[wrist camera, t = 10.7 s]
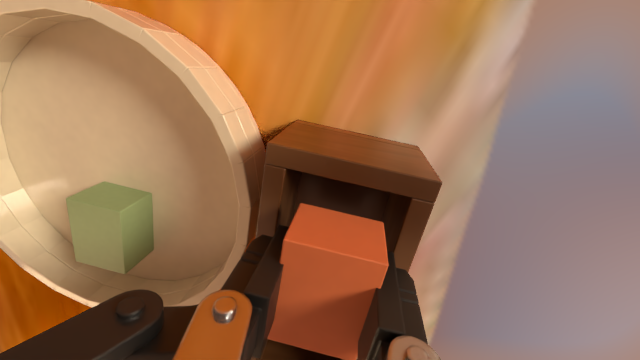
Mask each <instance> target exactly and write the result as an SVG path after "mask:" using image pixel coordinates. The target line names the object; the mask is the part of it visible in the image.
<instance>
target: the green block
mask: <svg viewBox="0 0 640 360" xmlns="http://www.w3.org/2000/svg"><path fill="white" fill-rule="evenodd" d="M66 204H67V210H68V216H69V223H70V229H71V235H72V241H73V248H74V254H75V260H76V261H77V262H80V263H84V264H88V265H92V266H95V267H99V268H103V269H107V270H110V271H114V272H118V273H122V274H126V273H128V272H129V271H130V270H131V269H132V268H133V267H135V266H136V265H137V264H138V263H139V262H140V261H141V260H143V259H144V258H145V257H146V256H147V255H148V254H150V253H151V252H152V251H153V250H154V235H153V204H152V193H150V192H146V191H142V190H138V189H134V188H130V187H125V186H121V185H117V184H113V183H109V182H105V181H104V182H101V183H99V184H97V185H94V186H92V187H90V188H88V189H85V190H83V191H81V192H79V193H76V194H74V195H72V196H69V197H67V198H66Z"/></svg>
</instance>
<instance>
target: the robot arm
mask: <svg viewBox="0 0 640 360" xmlns="http://www.w3.org/2000/svg"><path fill="white" fill-rule="evenodd" d="M288 228H289V227H288V226H284V225H279V226H278V228H277V230H276V232H275V234H274V236H273V237H271V236H267V235H263V234H262V235H260V236H259V237H257V238H256V239H254V240H252V241H251V243H250V244H249V246H248V248H247V249H246V252H244V254H243V255H242V257H241V259H240V260H239V262H238V263H237V265H236V266H235V268H234V269H233V271H232V272H231V274H230V276H229V277H228V279H227V280H226V282H225V283H224V285H223V287H222V288H221V290H219V291H216V292H213V293H211V294H209V295H207V296H206V297H205V298H203V299H202V300H201V302H200V303H199V304H197V305H192V306H166V307H163V300H162V298H161V297H160V296H159V295H158V294H157V293H155V292H153V291H150V290H143V289H138V290H131V291H127V292H124V293H121V294H118V295H116V296H114V297H112V298H110V299H108V300H106V301H104V302H102V303H100V304H98V305H96V306H94V307H92V308H90V309H88V310H86V311H84V312H82V313H80V314H78V315H76V316H74V317H72V318H70V319H68V320H66V321H64V322H62V323H60V324H58V325H56V326H54V327H52V328H50V329H48V330H46V331H44V332H42V333H40V334H38V335H36V336H34V337H32V338H30V339H28V340H26V341H24V342H22V343H20V344H18V345H16V346H14V347H12V348H10V349H8V350H6V351H4V352H2V353H0V360H251V357H254V358H258V359H260V358H261V355H262V352H263V350H264V347H265V344H266V341H267V338H268V336H269V333H270V330H271V327H272V324H273V321H274V318H275V312H276V306H277V300H278V295H279V289H280V283H281V277H282V272H283V266H284V265H283V264H280V256H281V250H282V243H283V239H284V237H285V235H286V232H287V230H288ZM387 255H388V264H389V266H388V269H387V272H386V275H385V278H384V281H383V284H382V286H381V289H379V288H376V290H375V293H374V296H373V299H372V302H371V305H370V308H369V311H368V314H367V317H366V320H365V322H364V325H363V328H362V331H361V334H360V337H359V340H358V358H357V360H441V359H440V357H439V356H438V354H437V353H436V352H435V351H434V350H433V349H432V348H431V347H430V346H429V345H428V343H427V339H426V334H425V330H424V325H423V321H422V316H421V312H420V307H419V305H418V298H417V295H416V289H415V285H414V281H413V280H412V278H411V277H410V275H409V274H408V272H407V271H406V270H404V269H400V268H396V264H395V257H394V253H393V252H390V251H387Z"/></svg>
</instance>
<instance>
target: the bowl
mask: <svg viewBox="0 0 640 360" xmlns="http://www.w3.org/2000/svg"><path fill="white" fill-rule="evenodd" d="M265 156H266V153H265V148H264V144H263V141H262V138H261V135H260V132H259V129H258V126H257V124H256V122H255V120H254V118H253V116H252V114H251V111H250V109H249V107H248V105H247V104H246V102H245V101H244V99H243V97H242V96H241V94H240V93H239V91H238V89H237V88H236V86H235V85H234V84H233V83H232V81H231V80H230V79H229V78H228V76H227V75H226V74H225V73H224V71H223V70H222V69H221V68H220V67H219V66H218V65H217V64H216V63H215V62H214V61H213V60H212V59H211V58H210V57H209V56H208V55H207V54H206V53H205V52H204V51H203V50H202V49H200V48H199V47H198V46H197V45H195V44H194V43H193V42H192V41H190V40H189V39H188V38H186V37H185V36H183V35H182V34H180V33H178V32H177V31H175V30H173V29H172V28H170V27H168V26H167V25H165V24H163V23H161V22H158V21H156V20H154V19H151V18H149V17H147V16H145V15H142V14H140V13H137V12H135V11H130V10H126V9H122V8H118V7H113V6H109V5H105V4H101V3H97V2H92V1H88V0H0V248H1V249H2V250H3V251H4V252H5V253H6V254H7V255H8V256H9V257H11V258H12V259H13V260H14V261H15V262H16V263H17V264H18V265H19V266H20V267H21V268H23V269H24V270H25V271H27V272H28V273H30V274H31V275H33V276H34V277H35V278H37V279H38V280H40V281H41V282H43V283H44V284H46V285H47V286H49V287H50V288H51V289H53V290H55V291H57V292H59V293H61V294H63V295H65V296H67V297H69V298H71V299H73V300H76V301H78V302H80V303H82V304H84V305H86V306H87V305H88V306H89V307H94V306H96V305H98V304H100V303H102V302H104V301H106V300H108V299H110V298H112V297H114V296H116V295H118V294H121V293H124V292H127V291H131V290H138V289H143V290H150V291H153V292H155V293H157V294H158V295H159V296H160V297H161V298H162V300H163V307H166V306H192V305H197V304H199V303H200V302H201V300H202V299H203V298H205V297H206V296H207V295H209V294H211V293H213V292H216V291H219V290H220V289H221V288H222V287H223V285H224V283H225V282H226V280H227V279H228V277H229V276H230V274H231V272H232V271H233V269H234V268H235V266H236V265H237V263H238V262H239V260H240V259H241V257H242V255H243V254H244V252H246V249H247V248H248V246H249V244H250V243H251V241H252V240H254V239H255V237H256V229H257V221H258V213H259V205H260V197H261V189H262V181H263V173H264V165H265V164H266V163H265ZM104 181H105V182H109V183H113V184H117V185H121V186H125V187H130V188H134V189H138V190H142V191H146V192H150V193H152V204H153V235H154V250H153V251H152V252H151V253H150V254H148V255H147V256H146V257H145V258H144V259H143V260H141V261H140V262H139V263H138V264H137V265H136V266H135V267H133V268H132V269H131V270H130V271H129V272H128V273H126V274H122V273H118V272H114V271H110V270H107V269H103V268H99V267H95V266H92V265H88V264H84V263H80V262H77V261H76V260H75V254H74V248H73V241H72V235H71V229H70V223H69V216H68V210H67V204H66V198H67V197H69V196H72V195H74V194H76V193H79V192H81V191H83V190H85V189H88V188H90V187H92V186H94V185H97V184H99V183H101V182H104Z"/></svg>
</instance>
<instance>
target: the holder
mask: <svg viewBox="0 0 640 360" xmlns="http://www.w3.org/2000/svg"><path fill="white" fill-rule="evenodd" d="M265 163H266V164H265V165H264V173H263V181H262V189H261V197H260V205H259V213H258V221H257V229H256V237H255V239H256V238H257V237H259V236H260V235H262V234H263V235H267V236H271V237H273V236H274V234H275V232H276V230H277V228H278V226H279V225H284V226H288V227H289V226H290V224H291V222H292V220H293V218H294V215H295V213H296V211H297V209H298V207H299V205H300V203H304V204H308V205H312V206H317V207H321V208H325V209H329V210H334V211H338V212H342V213H346V214H350V215H355V216H359V217H363V218H367V219H372V220H376V221H380V222H383V223H384V230H385V238H386V247H387V251H390V252H393V253H394V257H395V264H396V268H400V269H404V270H406V271H407V272H408V271H409V269H410V266H411V263H412V261H413V258H414V256H415V253H416V250H417V248H418V245H419V242H420V240H421V237H422V235H423V232H424V229H425V227H426V224H427V222H428V219H429V216H430V214H431V211H432V209H433V206H434V202H435V201H436V198H437V195H438V193H439V190H440V188H441V185H442V181H441V180H440V178H439V177H438V175H437V174H436V172H435V171H434V169H433V168H432V166H431V165H430V163H429V162H428V160H427V159H426V157H425V156H424V154H423V153H422V151H421V150H420V149H419V147H418V146H414V145H409V144H405V143H400V142H396V141H391V140H387V139H382V138H378V137H373V136H369V135H364V134H360V133H355V132H351V131H346V130H342V129H337V128H333V127H328V126H324V125H319V124H315V123H310V122H306V121H301V120H296V121H295V122H294V123H292V124H291V125H289V126H288V127H287V128H286V129H284V130H283V131H282V132H280V133H279V134H278V135H277V136H275V137H274V138H273V139H271V140H270V141H269V142H268V143H267V148H266V156H265ZM357 358H358V356H357ZM251 360H344V359H340V358H337V357H333V356H329V355H325V354H322V353H318V352H314V351H310V350H307V349H303V348H299V347H296V346H292V345H288V344H284V343H281V342H277V341H273V340H269V339H267V341H266V344H265V347H264V350H263V352H262V355H261V358H260V359H258V358H254V357H251ZM356 360H357V359H356Z"/></svg>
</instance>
